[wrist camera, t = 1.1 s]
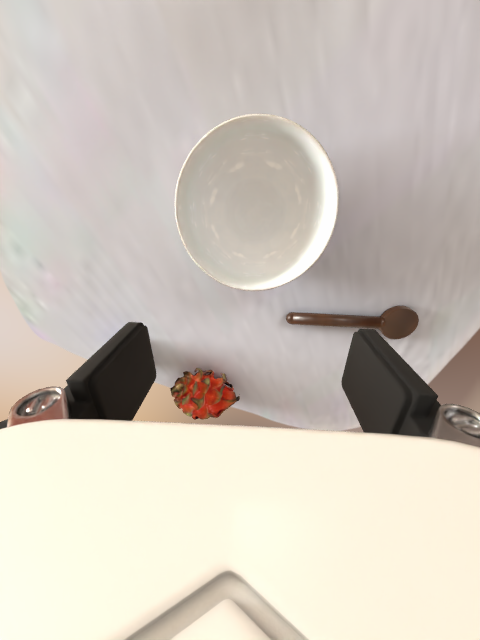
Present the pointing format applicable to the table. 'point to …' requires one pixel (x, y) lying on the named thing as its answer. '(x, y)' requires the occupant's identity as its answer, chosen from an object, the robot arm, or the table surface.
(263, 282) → the cereal bowl
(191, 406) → the dragon fruit
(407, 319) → the wooden spoon
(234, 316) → the table surface
